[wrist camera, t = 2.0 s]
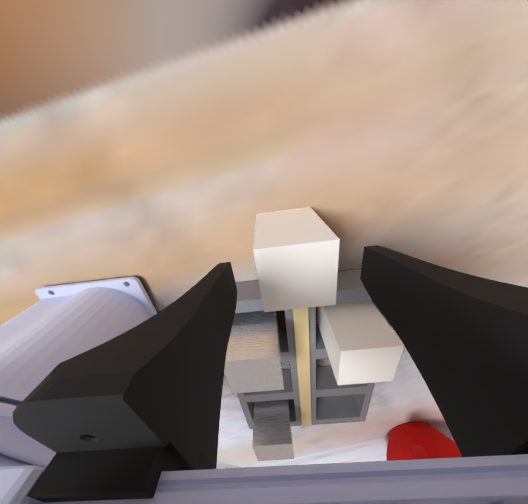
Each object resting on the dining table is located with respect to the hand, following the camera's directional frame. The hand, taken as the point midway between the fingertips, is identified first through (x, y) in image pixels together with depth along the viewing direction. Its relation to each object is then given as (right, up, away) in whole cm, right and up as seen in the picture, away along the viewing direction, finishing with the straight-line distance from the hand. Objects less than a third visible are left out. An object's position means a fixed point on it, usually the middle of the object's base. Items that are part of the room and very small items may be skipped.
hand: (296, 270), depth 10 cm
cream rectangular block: (0, +2, +5) cm, 5 cm away
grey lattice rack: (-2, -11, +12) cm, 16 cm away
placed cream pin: (+5, -4, +8) cm, 10 cm away
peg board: (+2, -11, +11) cm, 16 cm away
